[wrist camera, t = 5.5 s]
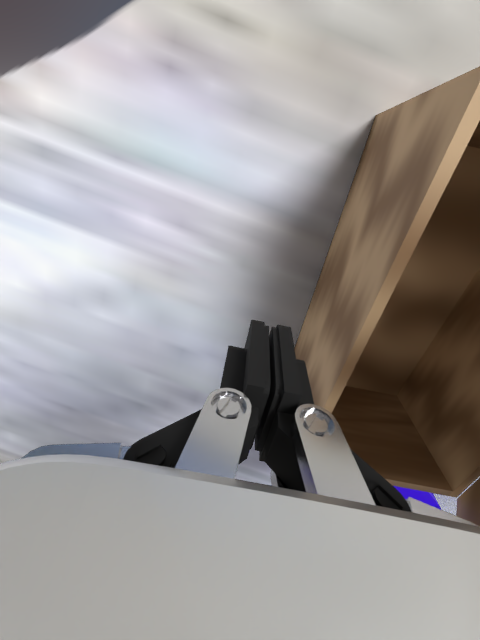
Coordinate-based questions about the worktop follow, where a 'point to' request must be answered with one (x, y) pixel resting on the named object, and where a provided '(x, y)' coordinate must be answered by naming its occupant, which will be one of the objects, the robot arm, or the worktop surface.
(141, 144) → the worktop surface
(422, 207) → the open wooden box
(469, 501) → the lid flap
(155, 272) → the worktop surface
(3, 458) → the worktop surface
